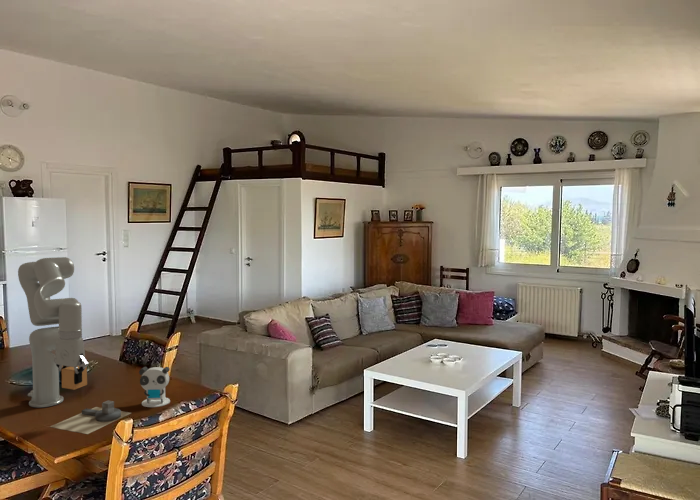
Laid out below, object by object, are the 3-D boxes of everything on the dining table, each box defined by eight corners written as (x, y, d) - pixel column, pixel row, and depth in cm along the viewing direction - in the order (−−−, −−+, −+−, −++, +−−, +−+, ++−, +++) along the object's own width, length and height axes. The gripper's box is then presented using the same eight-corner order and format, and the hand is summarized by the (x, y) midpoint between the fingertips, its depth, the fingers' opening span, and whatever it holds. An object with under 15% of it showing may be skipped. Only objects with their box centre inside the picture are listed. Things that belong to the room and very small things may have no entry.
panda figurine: (135, 407, 219) (135, 371, 218) (146, 397, 231) (145, 363, 230) (164, 407, 219) (164, 371, 219) (173, 398, 231) (173, 364, 230)
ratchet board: (49, 430, 196) (49, 410, 196) (96, 410, 217) (95, 392, 216) (87, 438, 190) (87, 417, 190) (131, 416, 211) (131, 398, 210)
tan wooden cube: (61, 387, 199) (61, 369, 198) (74, 382, 204) (74, 364, 204) (74, 389, 197) (74, 371, 196) (87, 384, 202) (86, 366, 202)
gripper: (43, 334, 197) (44, 382, 198) (80, 339, 191) (81, 388, 193) (60, 330, 204) (61, 376, 205) (96, 334, 198) (97, 381, 200)
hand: (71, 381), depth 199 cm, fingers closed on tan wooden cube, 6 cm apart
